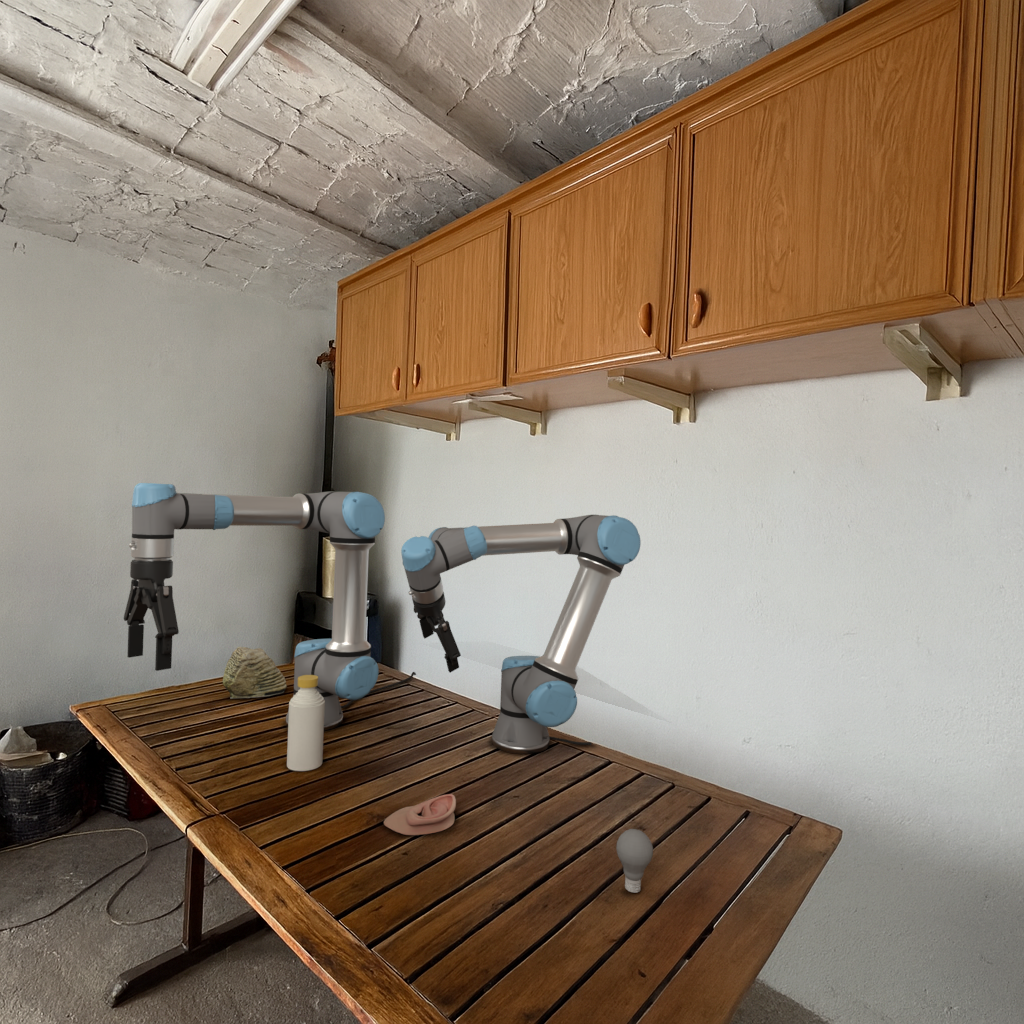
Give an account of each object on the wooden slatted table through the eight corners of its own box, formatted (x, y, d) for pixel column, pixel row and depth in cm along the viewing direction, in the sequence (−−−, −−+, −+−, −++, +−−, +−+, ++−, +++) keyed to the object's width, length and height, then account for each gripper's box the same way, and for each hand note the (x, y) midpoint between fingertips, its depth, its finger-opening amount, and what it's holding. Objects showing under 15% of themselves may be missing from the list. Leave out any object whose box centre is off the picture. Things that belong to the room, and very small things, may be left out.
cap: (293, 686, 148) (293, 678, 148) (306, 681, 152) (307, 673, 152) (308, 689, 146) (308, 681, 146) (322, 684, 150) (322, 676, 150)
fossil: (218, 695, 195) (220, 647, 195) (278, 685, 208) (279, 640, 207) (228, 703, 189) (230, 653, 188) (289, 692, 201) (290, 645, 201)
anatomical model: (377, 810, 121) (400, 784, 132) (376, 830, 121) (399, 803, 132) (444, 820, 118) (461, 792, 129) (443, 841, 118) (460, 812, 129)
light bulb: (610, 879, 108) (613, 822, 108) (644, 879, 109) (647, 822, 109) (619, 902, 102) (622, 840, 102) (655, 901, 103) (658, 840, 103)
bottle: (279, 766, 148) (282, 680, 147) (303, 754, 155) (306, 672, 154) (306, 773, 144) (309, 686, 144) (329, 761, 152) (332, 677, 151)
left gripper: (108, 554, 134) (104, 654, 134) (159, 565, 118) (155, 678, 119) (146, 552, 140) (143, 648, 140) (199, 563, 124) (195, 671, 124)
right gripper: (390, 571, 156) (406, 628, 169) (438, 634, 139) (451, 692, 152) (417, 558, 159) (431, 616, 172) (468, 618, 142) (478, 676, 155)
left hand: (148, 662), depth 129 cm, fingers open, 13 cm apart
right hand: (440, 651), depth 162 cm, fingers open, 13 cm apart
